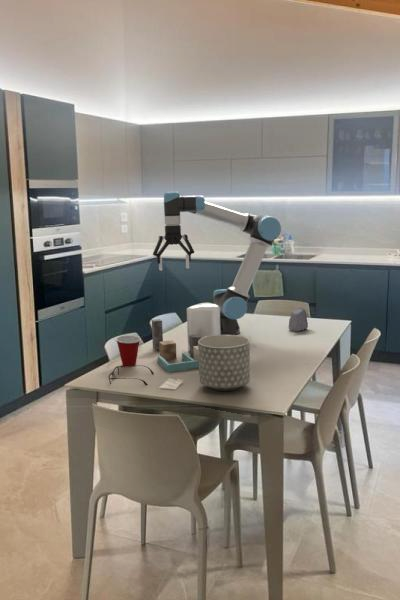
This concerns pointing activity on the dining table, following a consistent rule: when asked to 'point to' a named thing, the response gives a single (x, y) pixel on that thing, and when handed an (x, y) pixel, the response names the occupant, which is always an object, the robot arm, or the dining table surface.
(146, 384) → the eyeglasses
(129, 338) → the plastic cup
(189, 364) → the teal tray
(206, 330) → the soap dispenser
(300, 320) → the stone
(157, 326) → the block
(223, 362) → the planter
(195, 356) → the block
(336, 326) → the dining table surface
